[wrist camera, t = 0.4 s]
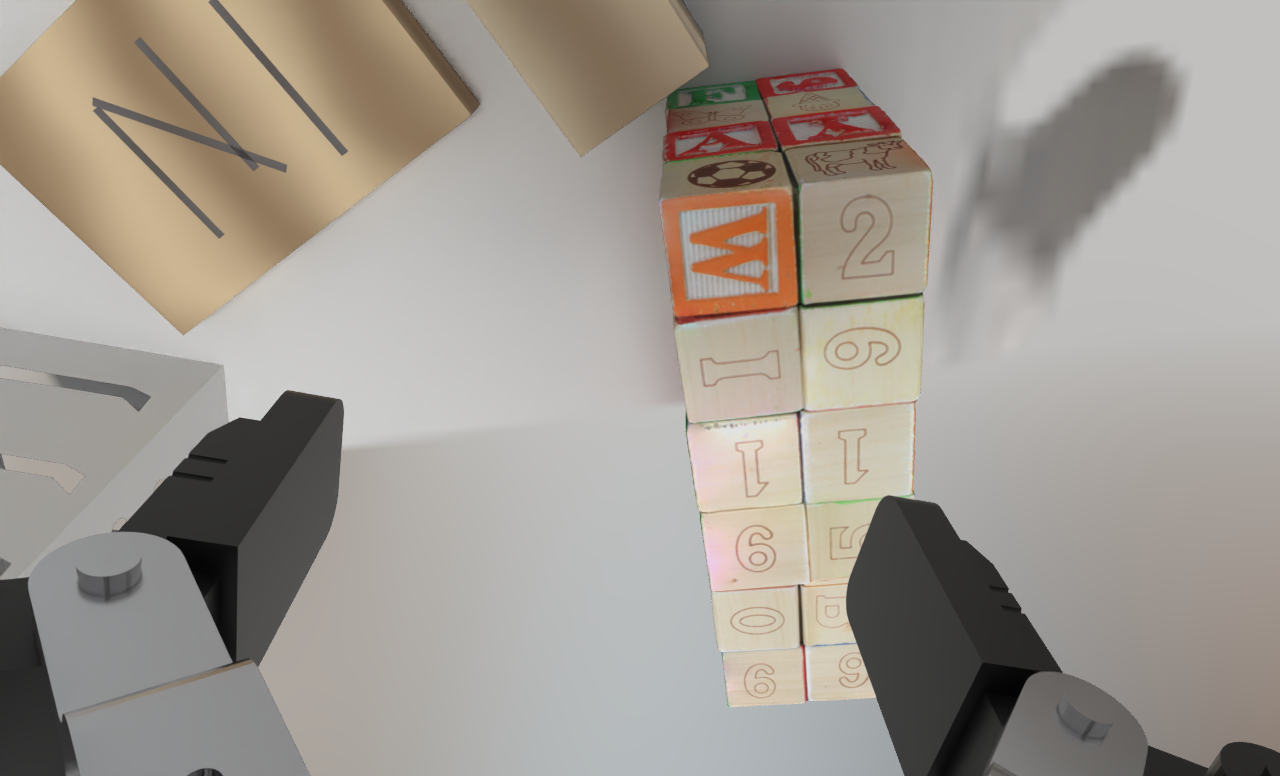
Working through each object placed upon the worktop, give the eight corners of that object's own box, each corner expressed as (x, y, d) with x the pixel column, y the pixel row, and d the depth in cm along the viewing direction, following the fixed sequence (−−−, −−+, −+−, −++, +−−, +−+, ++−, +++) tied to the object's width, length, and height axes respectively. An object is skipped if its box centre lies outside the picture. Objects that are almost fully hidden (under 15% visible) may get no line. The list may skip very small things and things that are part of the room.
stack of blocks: (845, 537, 40) (907, 774, 30) (712, 547, 41) (726, 782, 30) (844, 62, 29) (939, 168, 19) (662, 84, 30) (657, 199, 19)
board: (269, -172, 26) (246, -174, 25) (480, 104, 30) (471, 115, 29) (-13, 111, 31) (-45, 122, 30) (202, 317, 35) (183, 335, 34)
